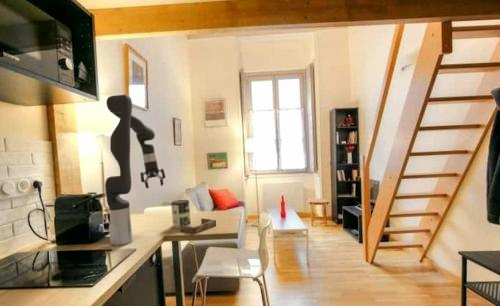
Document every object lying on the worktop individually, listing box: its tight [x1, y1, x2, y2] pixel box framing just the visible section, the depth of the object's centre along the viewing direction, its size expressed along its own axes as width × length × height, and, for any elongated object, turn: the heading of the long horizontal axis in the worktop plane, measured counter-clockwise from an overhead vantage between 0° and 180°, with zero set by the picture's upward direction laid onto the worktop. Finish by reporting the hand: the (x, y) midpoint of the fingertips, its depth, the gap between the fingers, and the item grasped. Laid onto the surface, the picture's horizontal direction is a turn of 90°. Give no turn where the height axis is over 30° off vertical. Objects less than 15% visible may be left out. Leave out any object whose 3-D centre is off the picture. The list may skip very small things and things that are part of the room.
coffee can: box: [170, 199, 192, 229], centre depth 164 cm, size 10×10×14 cm
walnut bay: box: [180, 217, 217, 234], centre depth 155 cm, size 16×11×3 cm
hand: (155, 187), depth 174 cm, fingers open, 8 cm apart
